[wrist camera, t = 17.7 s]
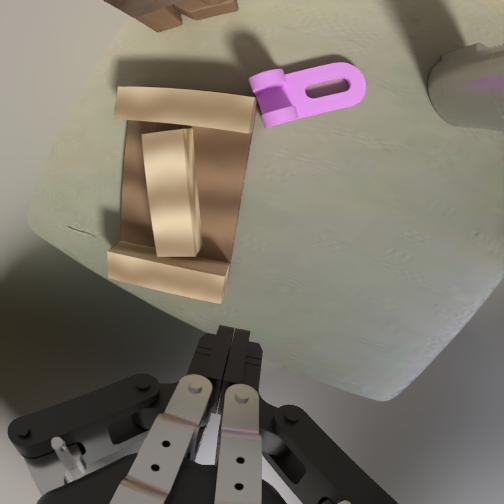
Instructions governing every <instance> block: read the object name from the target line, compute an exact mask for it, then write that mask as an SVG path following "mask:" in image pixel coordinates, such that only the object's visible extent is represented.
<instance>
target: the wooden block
mask: <svg viewBox="0 0 504 504" xmlns="http://www.w3.org/2000/svg"><path fill="white" fill-rule="evenodd" d="M104 1H105V2H107V3H109V4H111V5H112V6H114V7H116V8H118V9H120V10H121V11H123V12H125V13H126V14H128V15H130V16H131V17H133V18H136V19H137V20H138V21H140V22H142V23H143V24H145V25H147V26H148V27H150V28H151V29H153V30H154V31H156V32H161V31H164V30H167V29H170V28H173V27H177V26H180V25H182V18H181V14H183V15H185V16H187V17H190V18H192V19H194V20H200V19H204V18H208V17H212V16H216V15H221V14H225V13H229V12H234V11H238V4H237V0H104Z"/></svg>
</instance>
